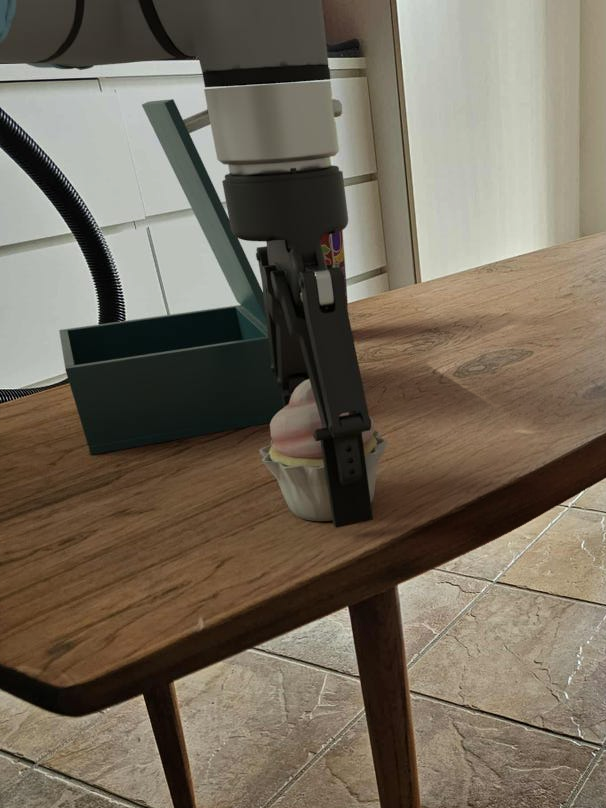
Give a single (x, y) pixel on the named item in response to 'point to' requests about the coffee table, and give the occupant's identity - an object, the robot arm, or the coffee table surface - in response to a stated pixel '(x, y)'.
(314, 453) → the cupcake
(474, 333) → the coffee table surface
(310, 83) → the robot arm
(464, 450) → the coffee table surface
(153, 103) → the lid
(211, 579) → the coffee table surface
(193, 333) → the dark green box
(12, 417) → the coffee table surface
